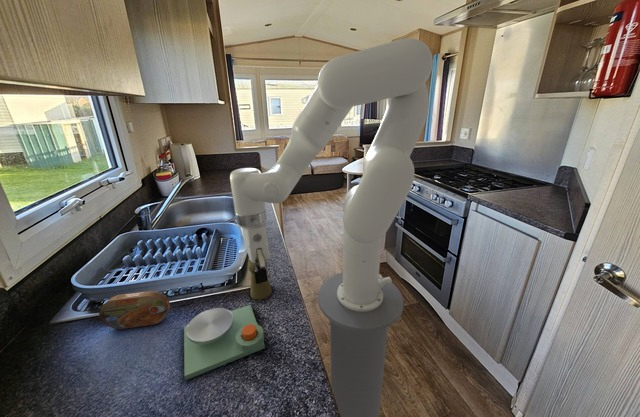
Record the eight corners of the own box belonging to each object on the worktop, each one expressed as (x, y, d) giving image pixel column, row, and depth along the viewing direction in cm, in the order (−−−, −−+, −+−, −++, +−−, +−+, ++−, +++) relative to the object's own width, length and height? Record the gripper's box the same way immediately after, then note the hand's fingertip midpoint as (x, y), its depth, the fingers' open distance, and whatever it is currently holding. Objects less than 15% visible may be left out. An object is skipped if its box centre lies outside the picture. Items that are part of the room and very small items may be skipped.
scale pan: (230, 305, 67) (229, 302, 66) (236, 333, 58) (236, 330, 58) (186, 319, 63) (186, 316, 62) (187, 351, 54) (186, 348, 54)
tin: (104, 331, 64) (92, 303, 60) (112, 321, 66) (101, 294, 63) (170, 322, 66) (162, 295, 62) (174, 313, 68) (167, 287, 65)
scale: (252, 307, 70) (251, 298, 69) (267, 349, 58) (266, 338, 57) (185, 330, 63) (182, 320, 62) (185, 382, 51) (182, 371, 50)
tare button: (254, 328, 60) (254, 322, 59) (258, 337, 58) (257, 331, 57) (241, 333, 59) (240, 327, 58) (244, 343, 56) (243, 337, 56)
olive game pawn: (265, 301, 72) (260, 267, 68) (246, 297, 74) (241, 264, 70) (275, 287, 77) (272, 255, 73) (257, 284, 79) (253, 252, 75)
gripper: (275, 226, 61) (281, 289, 68) (257, 204, 76) (264, 258, 82) (242, 233, 58) (252, 298, 65) (230, 208, 72) (239, 264, 79)
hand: (258, 275), depth 73 cm, fingers closed on olive game pawn, 5 cm apart
